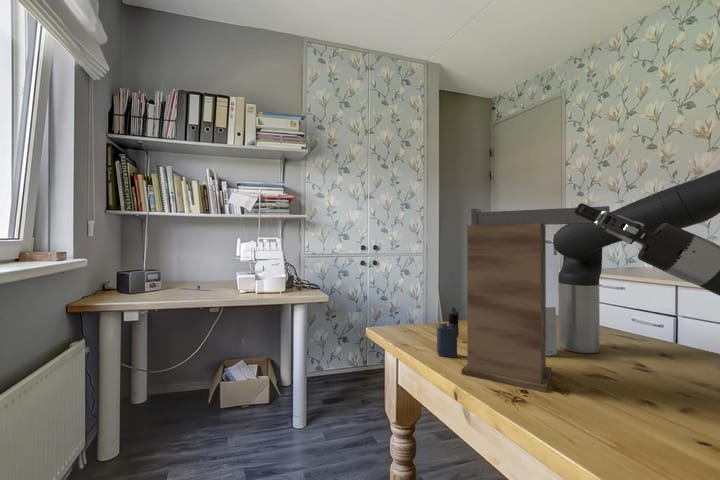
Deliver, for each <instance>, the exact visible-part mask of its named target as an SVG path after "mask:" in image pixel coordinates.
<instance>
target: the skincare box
mask: <svg viewBox="0 0 720 480" xmlns="http://www.w3.org/2000/svg"><path fill="white" fill-rule="evenodd" d="M556 314H557V313H556V306H551V305H546V357H551V356H555V355H557V354H558V342H557V341H558V336H557V316H556Z"/></svg>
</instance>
